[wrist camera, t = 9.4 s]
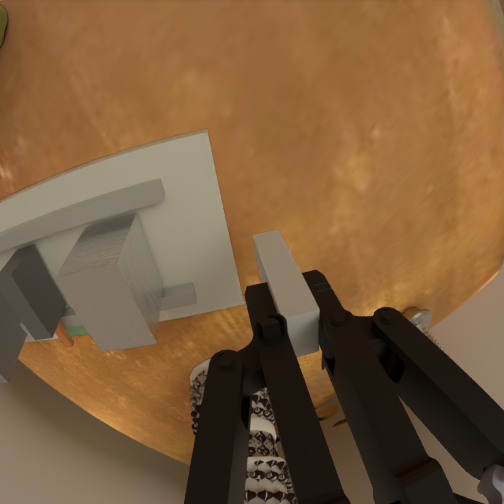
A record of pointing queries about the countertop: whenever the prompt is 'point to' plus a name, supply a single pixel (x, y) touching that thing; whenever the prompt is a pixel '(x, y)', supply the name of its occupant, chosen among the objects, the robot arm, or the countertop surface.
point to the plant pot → (2, 22)
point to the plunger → (114, 284)
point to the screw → (420, 320)
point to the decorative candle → (253, 446)
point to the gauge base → (151, 219)
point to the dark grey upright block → (34, 295)
